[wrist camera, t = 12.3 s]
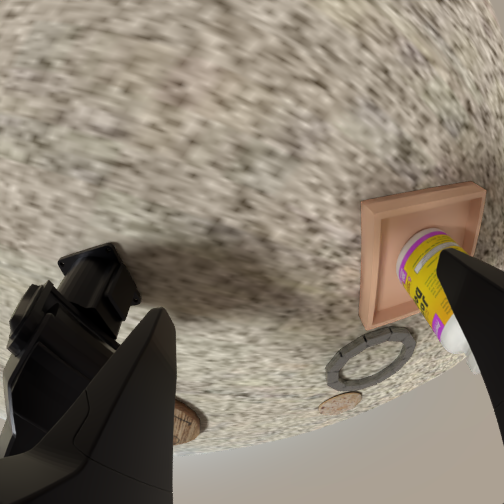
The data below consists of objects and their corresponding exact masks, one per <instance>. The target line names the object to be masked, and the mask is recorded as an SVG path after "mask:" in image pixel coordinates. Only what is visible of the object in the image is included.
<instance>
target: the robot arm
mask: <svg viewBox="0 0 504 504" xmlns="http://www.w3.org/2000/svg"><path fill="white" fill-rule="evenodd" d="M107 248H109V249H110V250H111V251H109V250H108V249H107ZM63 263H64V264H63ZM58 265H59V267H60V269H61V271H62V272H63V274H64V276H65V277H64V279H63V280H62V282H61V283H60V285H59V287H58V288H57V289H56V288H55V287H54V286H53V285H54V284H53V283H52V282H51V281H50V280H48V281H47V282H46V283H45V284H44V285H41V286H37V285H34V284H32V285H31V286H30V287H29V288H28V290H27V291H26V293H25V294H24V296H23V297H22V299H21V300H20V302H19V304H18V305H17V307H16V309H15V311H14V313H13V315H12V317H11V319H10V321H9V323H10V329H11V332H10V335H9V341H8V344H7V349H8V350H9V351H10V352H11V353H12V354H11V356H10V358H9V360H8V362H7V364H6V366H5V368H4V371H3V384H4V396H5V405H6V412H7V419H6V422H5V425H4V427H3V430H2V433H1V435H0V504H173V493H172V492H173V489H172V488H173V487H172V472H173V471H172V469H173V432H174V411H175V394H176V379H177V364H176V330H175V326H174V324H173V322H172V320H171V318H170V316H169V315H168V313H167V311H166V309H165V308H163V307H160V308H153V309H151V310H150V311H149V312H148V313H147V314H146V316H145V317H144V318H143V319H142V320H141V321H140V323H139V324H138V325H137V326H136V327H135V329H134V330H133V331H132V332H131V333H130V334H129V336H128V337H127V338H126V339H125V340H124V342H123V343H122V344H121V345H120V344H119V343H118V342H116V341H115V340H116V339H117V335H118V332H119V329H120V326H121V323H122V321H125V320H126V317H127V314H128V311H129V308H130V306H133V305H138V304H140V302H141V299H142V298H141V296H140V294H139V292H138V291H137V289H136V285H135V283H134V281H133V280H132V278H131V276H130V274H129V272H128V270H127V268H126V266H125V265H124V264H123V263H122V261H121V259H120V257H119V255H118V253H117V251H116V249H115V247H114V246H113V245H112V244H111V243H106V244H103V245H99V246H96V247H93V248H90V249H86V250H83V251H80V252H77V253H74V254H71V255H68V256H64V257H61V258H60V259H59V261H58ZM436 274H437V277H438V279H439V281H440V284H441V286H442V288H443V290H444V293H445V295H446V297H447V300H448V302H449V304H450V307H451V309H452V311H453V313H454V315H455V318H456V320H457V321H458V323H459V325H460V327H461V330H462V332H463V334H464V336H465V338H466V340H467V342H468V344H469V346H470V349H471V351H472V353H473V355H474V358H475V360H476V362H477V365H478V367H479V370H480V372H481V375H482V377H483V380H484V383H485V385H486V388H487V391H488V393H489V396H490V399H491V402H492V405H493V408H494V412H495V415H496V418H497V422H498V425H499V429H500V432H501V436H502V440H503V444H504V271H502V270H500V269H498V268H496V267H494V266H491V265H489V264H487V263H485V262H483V261H481V260H479V259H476V258H474V257H472V256H470V255H468V254H465V253H463V252H461V251H459V250H456V249H454V248H446V249H443V250H442V251H441V252H440V255H439V260H438V264H437V268H436ZM134 298H135V299H134ZM136 299H137V300H136ZM503 504H504V503H503Z"/></svg>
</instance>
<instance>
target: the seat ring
mask: <svg viewBox="0 0 504 504" xmlns="http://www.w3.org/2000/svg"><path fill="white" fill-rule="evenodd" d="M386 341H401V342H402V343H403V344H404V345H403V348H402V351H401V354H400V355H399V356H398V357H397V358H396V359H395V361H394V362H393V363H392V364H391V365H390V366H388V367H387V368H385V369H384V370H382V371H380V372H379V373H377V374H375V375H373V376H370V377H367V378H364V379H361V380H343V379H341V378H340V377H338V374H339V370H340V369H341V368H342V367H343V366H344V365H345V364H346V362H347V361H348V360H349V359H350V358H352V357H354V356H355V355H357V354H358V353H360V352H362V351H363V350H365V349H366V348H368V347H371V346H374V345H377V344H380V343H383V342H386ZM415 346H416V342H415V340H414V338H413V337H412V335H411V333H410V332H409V330H408V329H407V328H400V327H389V328H388V327H386V328H383V329H380V330H377V331H374V332H370V333H367V334H364V337H363V336H361V337H359V338H357V339H356V340H354V341H353V342H351V343H350V344H348V345H347V346H345V347H343V348H342V349H340V351H338V352H337V353H336V355H335V356H334V357H333V358H332V360H331V361H330V362H329V363H328V364H327V366H326V382H327V385H328V386H330V387H332V388H333V389H335V390H337V391H357V390H361V389H364V388H367V387H370V386H373V385H376V384H377V383H380V382H382V381H383V380H385V379H387V378H388V377H390V376H391V375H393V374H395V373H396V371H399V370H400V369H401V368H402V366H403V365H404V364H405V363H406V362H407V361H408V360H409V359H410V357H411V356H412V354H413V351H414V349H415Z"/></svg>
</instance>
